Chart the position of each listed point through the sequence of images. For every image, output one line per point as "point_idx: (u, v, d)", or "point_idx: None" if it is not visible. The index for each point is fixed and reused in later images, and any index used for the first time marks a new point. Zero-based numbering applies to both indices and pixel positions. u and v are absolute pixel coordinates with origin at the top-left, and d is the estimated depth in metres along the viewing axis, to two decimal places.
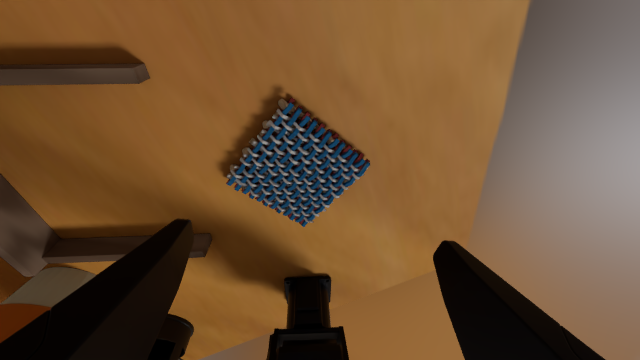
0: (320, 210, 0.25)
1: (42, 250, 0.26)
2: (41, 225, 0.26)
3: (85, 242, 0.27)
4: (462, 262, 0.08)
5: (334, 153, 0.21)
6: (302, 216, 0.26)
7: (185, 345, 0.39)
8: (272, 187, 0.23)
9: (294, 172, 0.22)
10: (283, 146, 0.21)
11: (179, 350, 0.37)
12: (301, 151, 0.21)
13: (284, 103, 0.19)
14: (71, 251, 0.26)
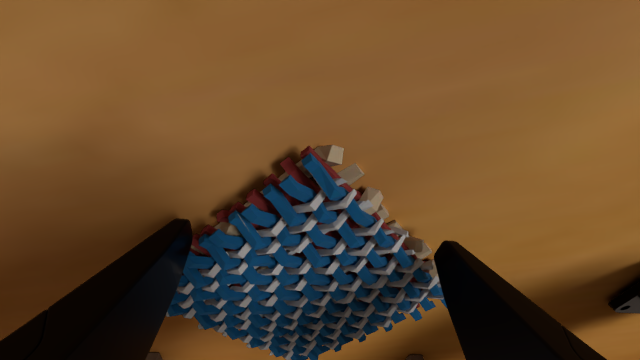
0: (421, 279, 0.10)
1: None
2: None
3: None
4: (463, 262, 0.08)
5: (252, 244, 0.08)
6: (422, 302, 0.11)
7: None
8: (323, 330, 0.12)
9: (296, 302, 0.10)
10: (229, 314, 0.10)
11: None
12: (244, 291, 0.10)
13: None
14: None
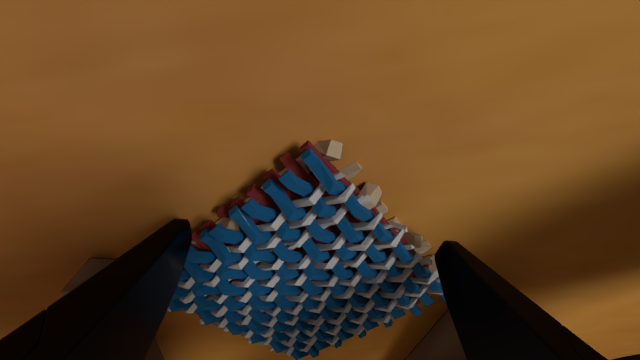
0: (421, 274, 0.10)
1: None
2: None
3: None
4: (464, 262, 0.08)
5: (253, 238, 0.08)
6: (421, 297, 0.11)
7: None
8: (324, 325, 0.12)
9: (297, 297, 0.11)
10: (229, 309, 0.10)
11: None
12: (244, 286, 0.10)
13: None
14: None
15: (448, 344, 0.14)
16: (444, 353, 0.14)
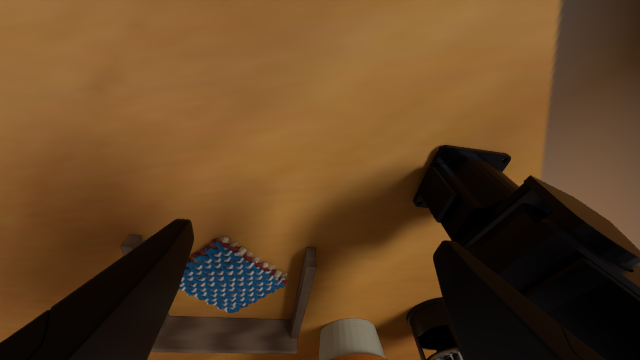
0: (264, 277, 0.28)
1: (286, 334, 0.35)
2: (273, 322, 0.36)
3: (293, 313, 0.34)
4: (462, 262, 0.08)
5: (202, 265, 0.26)
6: (271, 285, 0.29)
7: None
8: (236, 296, 0.30)
9: (222, 285, 0.28)
10: (197, 289, 0.28)
11: None
12: (202, 280, 0.28)
13: None
14: (292, 324, 0.34)
15: (301, 280, 0.29)
16: (300, 285, 0.29)
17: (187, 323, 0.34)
